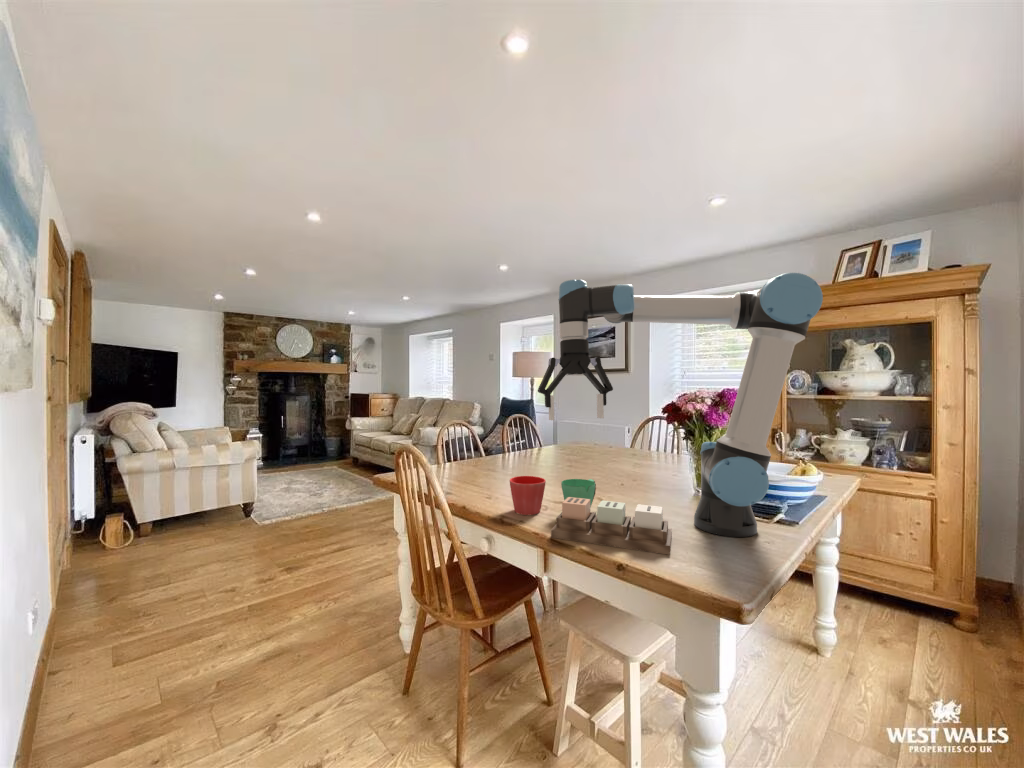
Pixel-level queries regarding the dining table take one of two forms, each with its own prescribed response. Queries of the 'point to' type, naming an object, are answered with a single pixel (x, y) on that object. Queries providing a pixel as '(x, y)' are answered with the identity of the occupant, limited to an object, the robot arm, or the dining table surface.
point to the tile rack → (614, 534)
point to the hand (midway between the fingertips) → (576, 419)
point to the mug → (579, 489)
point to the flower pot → (527, 494)
